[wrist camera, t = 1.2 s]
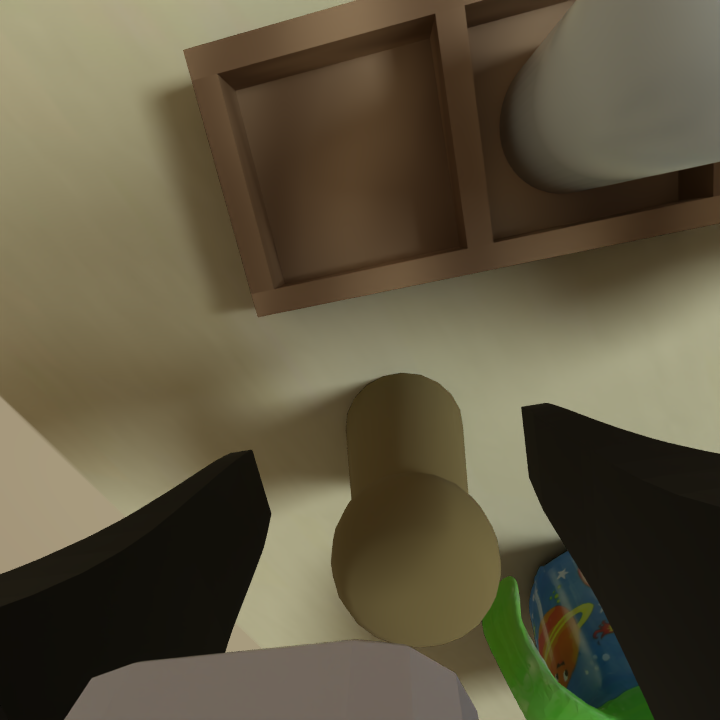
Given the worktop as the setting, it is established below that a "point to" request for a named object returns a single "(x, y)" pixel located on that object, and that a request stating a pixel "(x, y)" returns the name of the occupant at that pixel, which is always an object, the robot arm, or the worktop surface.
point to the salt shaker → (616, 95)
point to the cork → (412, 519)
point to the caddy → (400, 152)
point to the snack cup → (562, 650)
